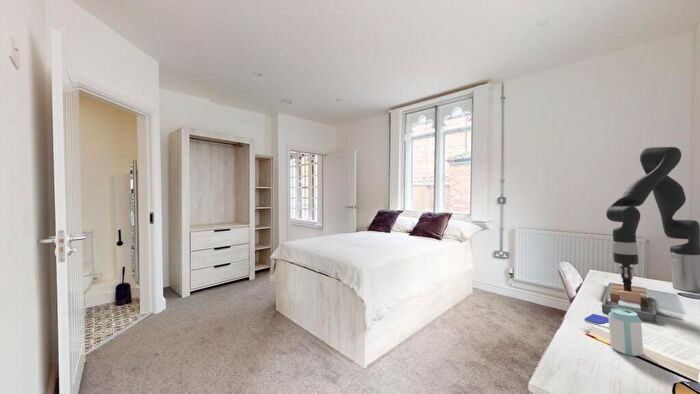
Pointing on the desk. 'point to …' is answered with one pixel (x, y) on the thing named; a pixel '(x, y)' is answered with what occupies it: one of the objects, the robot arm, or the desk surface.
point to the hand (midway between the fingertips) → (627, 292)
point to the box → (644, 314)
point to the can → (625, 332)
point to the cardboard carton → (643, 294)
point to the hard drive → (597, 319)
